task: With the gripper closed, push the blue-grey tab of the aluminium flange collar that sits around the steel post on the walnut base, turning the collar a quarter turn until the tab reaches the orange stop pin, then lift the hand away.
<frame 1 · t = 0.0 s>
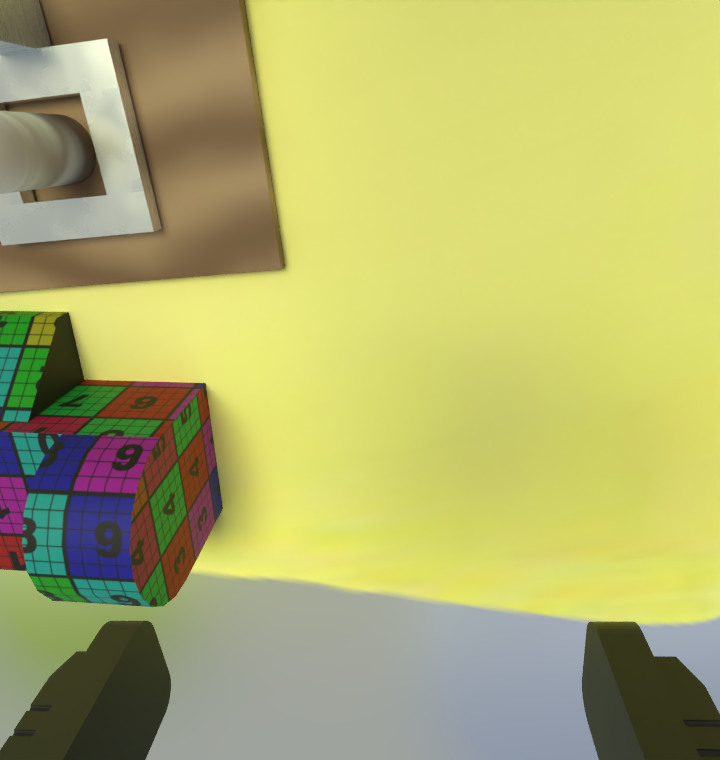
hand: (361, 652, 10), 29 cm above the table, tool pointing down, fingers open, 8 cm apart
flange plate: (11, 79, 30), point 4 cm above the table, hinge at 0.0°
flange base: (75, 149, 35), on the table
toy block train: (61, 411, 44), on the table
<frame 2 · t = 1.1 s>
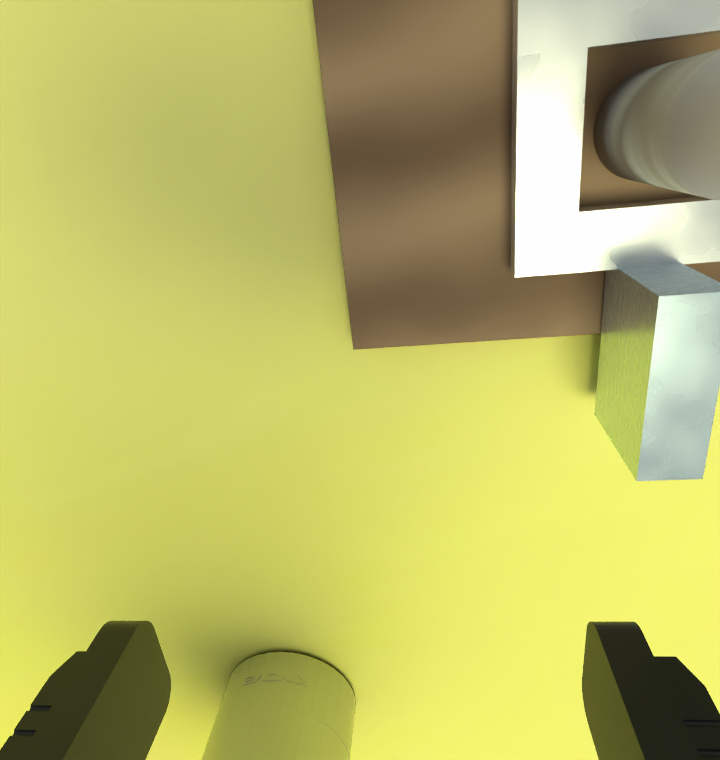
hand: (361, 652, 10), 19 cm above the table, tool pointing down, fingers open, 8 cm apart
flange plate: (668, 234, 20), point 4 cm above the table, hinge at 0.0°
flange base: (635, 126, 22), on the table
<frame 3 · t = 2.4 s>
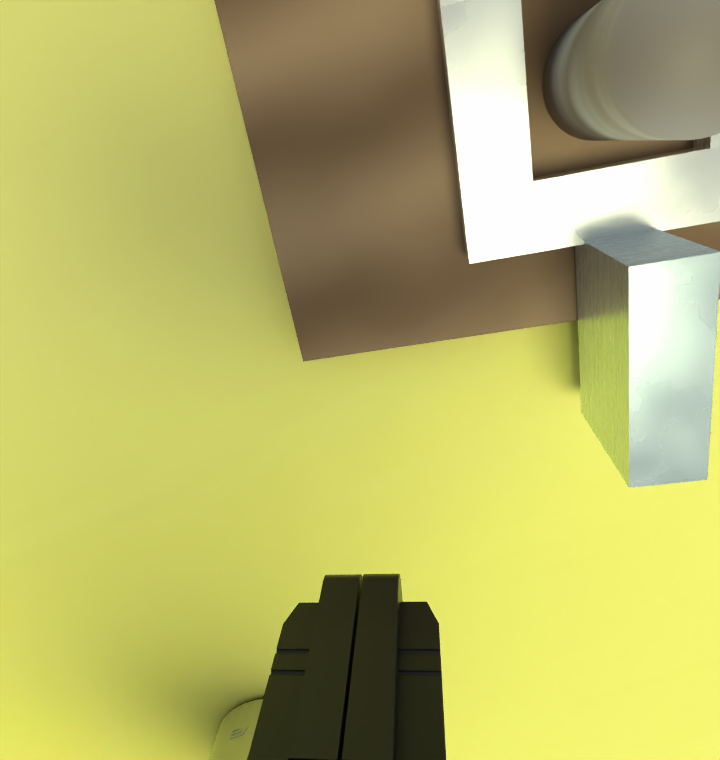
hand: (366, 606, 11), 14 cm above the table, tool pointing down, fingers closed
flange plate: (637, 196, 17), point 4 cm above the table, hinge at 0.0°
flange base: (592, 79, 20), on the table
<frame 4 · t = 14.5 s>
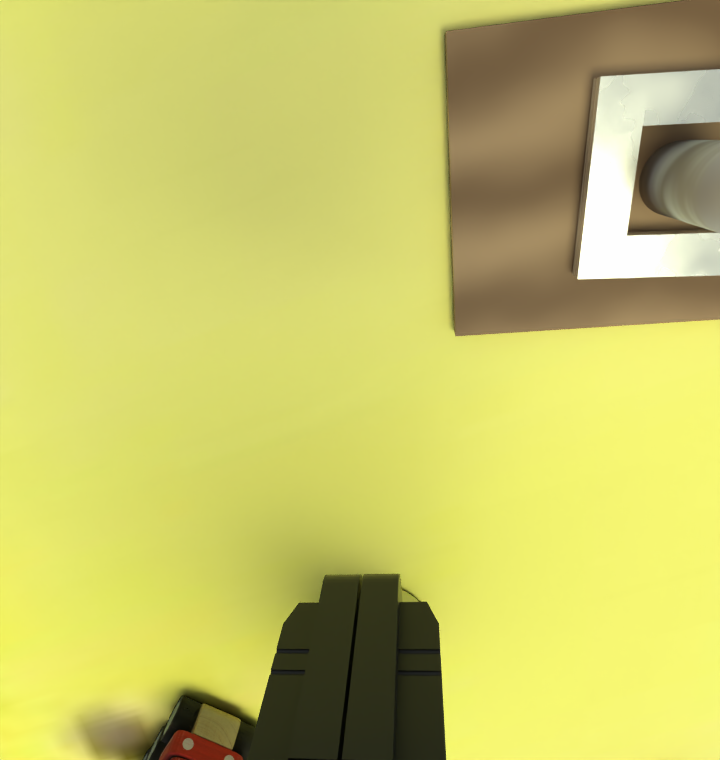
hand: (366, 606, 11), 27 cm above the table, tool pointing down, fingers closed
flange base: (667, 177, 32), on the table
toy fire truck: (187, 732, 57), on the table
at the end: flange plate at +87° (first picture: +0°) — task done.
